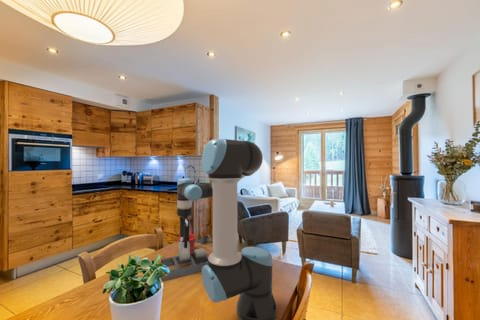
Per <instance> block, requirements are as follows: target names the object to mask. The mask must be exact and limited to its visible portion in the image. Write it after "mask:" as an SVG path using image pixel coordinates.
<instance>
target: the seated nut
mask: <svg viewBox="0 0 480 320" xmlns="http://www.w3.org/2000/svg"><path fill="white" fill-rule="evenodd" d="M193 253H194V261H195V263H196V264H198V263H203V262H206V253H207V252H206V250H205V249H204V247H202V248H201V247H200V248H196V249H195V248H194V251H193Z"/></svg>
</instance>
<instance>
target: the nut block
mask: <svg viewBox="0 0 480 320" xmlns="http://www.w3.org/2000/svg"><path fill="white" fill-rule="evenodd" d="M177 243H178V247H177V248H178V250H177V251H178V255H177V256H178V258H179V260H180V261H185V260H190V244H189V242H188V253H187V254H182V252H183V242H179V241H178V242H177Z"/></svg>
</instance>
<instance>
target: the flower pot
mask: <svg viewBox="0 0 480 320" xmlns="http://www.w3.org/2000/svg"><path fill="white" fill-rule="evenodd" d="M196 238H197V237H196V235H195V234H192V233H189V241H188V242H189V244H190V253H194V250H195V245H196V243H195V242H196ZM177 240H178V243H179V242H180V241H181V237H180V235H179V236H178V238H177Z"/></svg>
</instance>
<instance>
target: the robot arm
mask: <svg viewBox="0 0 480 320" xmlns="http://www.w3.org/2000/svg"><path fill="white" fill-rule="evenodd" d="M263 160H264V158H263V153H262V150H261V148H260V147H259V146H258V145H257V144H256V143H254V142H252V141H249V140H237V139H226V138H214V139H211V140H209V141H208V142H207V144H206V145H205V146H204V149H203V152H202V157H201V167H202V170H203V172H204V173H205V174H207V175H208V177H207V178H208V180H209V181H210V182H206V183H193V180H192V178H189V177H188V178H186V177H184V178H178V179H177V185H176V187H177V188H176V189H177V192H176V193H177V195H176V198H177V199H176V207H177V208H176V215H177V216H178V217H179V236H180V237H181V241H180V242H183V252H182V254H187V253H188V241H189V234H190V224H191V223H190V219H189V216H191V215H192V214H193V213H192V212H193V208H192V203H193V202H195V201H199V200H201V199H211V198H212V251H211V253H210V254H208V265H205V266H203V268H202V272H201V281H202V284H203V288H204V290H205V293H206V295H207V296H208V297H207V298H209V300H211V301H212V302H213V303H215V304H216V303H217V304H218V303H220V302H223V301H227V300H229V299H231V298H233V297H236V296H238V300H237V302H236V314H238V315H237V316H239V317H240V318H241V319H242V320H273V319H274V318H275V316H276V317H277V314H276V313H277V311H278V310H277V308H278V307H277V303H276V301H275V297H274V293H273V265H274V264H273V258H272V257H273V256H272V254H271V253H270V252H269V251H268V250H267V249H264V248H262V247H259V246H258V247H257V246H245V247H243V248H242V249H241V251H240V252H239V251H238V183H239V182H240V181H241V180H242V179H244V178H245V177H250V176H252V175H253V174H255V173H256V172H257V171H258V170H259V169H260V168H261V166H262V164H263ZM239 317H238V318H239ZM240 318H239V319H240ZM241 319H240V320H241ZM275 319H276V318H275ZM275 319H274V320H275Z"/></svg>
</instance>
